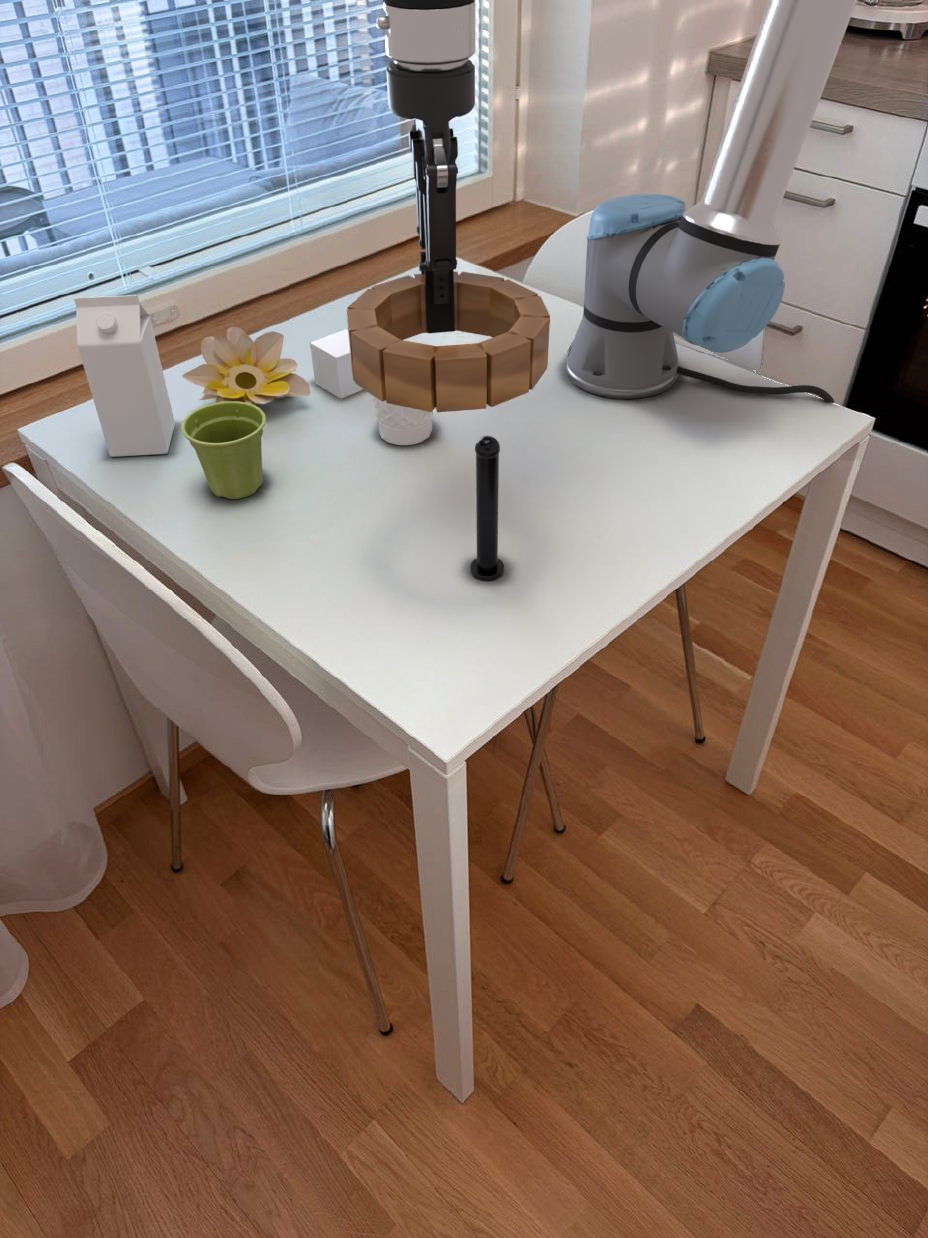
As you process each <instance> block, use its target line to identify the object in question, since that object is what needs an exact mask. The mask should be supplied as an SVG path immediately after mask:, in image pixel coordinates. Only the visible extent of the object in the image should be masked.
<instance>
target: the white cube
mask: <svg viewBox="0 0 928 1238" xmlns="http://www.w3.org/2000/svg"><path fill="white" fill-rule="evenodd" d="M309 346H310V353H311V362H312V369H313V377H314V384H315V385H317V386H319V387H320V388H322V389H323V390H325V391H327V392H329V393H330V394H332V395H334V396H335V397H337V398H339V399H340V400H343V399H344V398H347V397H349V396H352V395H354V394H356V393H358V392H361V391H364V389H363V388H361V387H360V386H358V385H357V384H356V383H355V381H353V375H352V366H351V358H350V347H349V336H348V328H345V329H342V330H339V331H336V332H334V333H331V334H329V335H326V336H324V337H321V338H317V339H315V340H313V341H310V342H309Z"/></svg>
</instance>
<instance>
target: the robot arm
mask: <svg viewBox="0 0 928 1238" xmlns="http://www.w3.org/2000/svg"><path fill="white" fill-rule="evenodd" d="M382 1H383V11H384V12H385V14H386V15H381V16H378V17H377V18H376V28H377V29H378V30H382V31H384V30H385V33H384V40H385V53H386V56H387V57H388V58H389V59H391V61H390V62H389V63H388V66H386V69H385V71H386V85H387V104H388V108H389V110H390V111H391V112H392V113H393V114H394V115H396V116H397V117H400V118H402V119H407V120H410V121H411V120H415V124H411V128H410V130H408V145H409V149H410V153H411V158H412V161H411V162H412V174H413V178H414V182H415V183H414V184H415V202H416V204H415V205H416V220H417V221H416V222H417V226H416V233H417V235H418V237H419V240H418V245H419V246H420V250H425V251H420V252H419V257H420V262H418V271H419V272H420V274H425V299H426V324H427V333H426V334H440V333H452V332H453V333H455V332H456V331H455V317H454V272H455V270H457V267H458V260H457V179H458V174H459V167H458V164H457V163H456V160H457V159H458V157H459V145H458V142H459V141H458V137H457V136H454V135H455V134H454V129H453V128H452V127H451V128H450V122H451V121H452V120H453V119H454V118H456V117H458V118H461V117H464V116H466V115H468V114H469V113H471V112H472V111H473V109H474V108H475V105H476V65H475V64H474V63H473V62H472V60H471V59H470V58H472V57H473V56H474V55H475V53H476V0H382ZM857 2H858V0H767V1H766V5H765V9H764V10H763V14H762V17H761V20H760V24H759V26H758V29H757V32H756V35H755V37H754V41H753V44H752V47H751V50H750V53H749V56H748V59H747V62H746V65H745V68H744V71H743V74H742V77H741V80H740V84H739V87H738V89H737V93H736V95H735V98H734V101H733V104H732V107H731V110H730V113H729V116H728V119H727V122H726V125H725V129H724V131H723V134H722V137H721V141H720V144H719V146H718V149H717V152H716V155H715V159H714V161H713V164H712V166H711V167H712V168H711V170H710V174H709V177H708V180H707V182H706V185H705V189H704V192H703V194H702V197H701V199H700V201H698V203H696V204H695V205H692V206H691V207H689V208H687V209H686V202H684V201H683V200H682V199H681V198H678V197H675V196H672V195H666V194H658V193H657V194H655V193H646V194H645V193H643V194H630V195H623V196H619V197H618V196H617V197H614V198H612V199H607V200H605V201H603V202H601V203H599V204H597V206H596V207H595V208H594V209H593V211H592V213H591V216H590V222H589V229H588V234H587V235H586V240H587V242H586V243H587V244H586V259H585V260H586V261H585V277H584V295H583V297H584V298H583V312H582V318H581V320H580V323H579V326H578V328H577V330H576V333H575V334H574V338H573V339H572V341H571V344H570V345H569V348H568V349H567V351H566V355H565V356H567V358H566V365H565V366H566V367H565V371H566V375H567V377H568V379H569V381H571V382H572V383H573V384H574V385H575V386H577V387H578V388H580V389H582V390H583V391H586V392H588V393H591V394H593V395H596V396H600V397H606V398H613V399H622V400H623V399H627V400H628V399H642V398H648V397H652V396H656V395H658V394H661V393H663V392H665V391H667V390H669V389H670V388H671V387H672V386H673V385H674V384H675V383H676V381H677V378H678V375H680V376H684V377H688V378H691V379H694V380H698V381H701V382H705V383H708V384H711V385H714V386H717V387H721V388H724V389H726V390H729V391H732V392H737V393H741V394H742V393H743V394H753V395H754V394H755V395H773V396H774V395H787V394H788V395H790V394H801V393H805V394H811V395H815V396H817V397H819V398H820V399H822V400H823V401H824V402H825V403H828V404H834V403H835V399H834V398H833V396H832V395H831V394H830V393H829V392H828V391H826V390H825V389H823V388H821V387H819V386H815V385H810V384H809V385H808V384H799V385H798V384H797V385H789V386H757V385H754V386H753V385H745V384H739V383H735V382H731V381H728V380H725V379H722V378H720V377H717V376H713V375H710V374H706V373H703V372H700V371H696V370H693V369H689V368H686V367H683V366H682V367H681V366H679V355H678V350H677V346H676V339H675V335H674V334H676V335H677V336H679V337H681V338H683V339H684V340H685V342H687V343H689V344H691V345H693V346H699V347H701V348H703V349H705V350H708V351H710V352H712V353H729V352H733V351H735V350H738V349H740V348H742V347H744V346H746V345H747V344H748V343H750V342H751V341H752V340H753V339H754V338H756V337H757V336H759V335H760V333H761V332H762V331H764V329H765V328H766V327H768V325H769V324H770V322H771V321H772V319H773V317H774V316H775V315H776V313H777V311H778V309H779V307H780V305H781V302H782V300H783V297H784V293H785V288H786V283H785V281H784V279H785V274H784V273H785V272H784V270H783V269H782V267H781V266H780V265H779V263H778V262H777V261H776V260H775V259H776V256H777V254H778V251H779V248H780V246H781V242H782V238H781V235H780V233H779V231H778V229H777V227H776V222H775V221H776V218H777V215H778V212H779V210H780V208H781V204H782V202H783V199H784V197H785V194H786V191H787V188H788V185H789V184H790V181H791V178H792V175H793V172H794V170H795V167H796V165H797V161H798V159H799V157H800V155H801V151H802V148H803V146H804V144H805V140H806V137H807V136H808V135H807V134H808V133H809V130H810V127H811V124H812V122H813V119H814V116H815V114H816V112H817V108H818V106H819V103H820V100H821V98H822V95H823V92H824V90H825V87H826V84H827V82H828V79H829V76H830V73H831V71H832V69H833V65H834V64H835V60H836V57H837V55H838V53H839V49H840V47H841V44H842V41H843V39H844V37H845V34H846V31H847V28H848V25H849V22H850V20H851V18H852V15H853V12H854V9H855V7H856V4H857Z"/></svg>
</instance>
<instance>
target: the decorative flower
mask: <svg viewBox="0 0 928 1238" xmlns="http://www.w3.org/2000/svg"><path fill="white" fill-rule="evenodd" d="M284 338H285V337H284V334H282V333H280V332H277V331H272V330H271V331H267V332H264V333H263V334H261V335H259V336H258V337H257V338H255V340H253V339H252V338H251V336H250V335H248V334H247V333H246V332H245V331H244V330H243V329H241V328H240V327H237V326H234V325H233V326H231V327H228V328H227V329H226V338H225V337H224V336H223V337H222V336H217V337H215V336H213V335H211V336H206V337H204V338H203V339H202V340H201V342H200V353H201V357H202V358H203V360H204V361H205V363H204V364H203V363H202V364H201V365H199V366H196V367H194V368H193V369H191V370H189V371H187V372H185V373H184V374H182V375H181V377H182V379H184V380H186V381H188V382H189V383H191V384H194V385H196V386H198V387H200V388H201V387H202V388H204V389H203V391H202V394H203V395H202V397H200V399H199V401H206V400H212V399H215V402H214V403H218V402H233V401H237V402H245V403H249V404H252V405H254V406H257V405H260V406H262V405H265V404H267V403H271V402H272V401H273V400H274V398H277V399H282V398H286V397H309V396H311V393H312V392H311V388H310V384H309V383H308V381H306V379H304V377H301V376H300V375H299V374H296V373H293V372H295V371H296V370H297V368H298V362H297V361H296V360H295V359H293V358H287V357H285V358H281V356H282V350H283V346H284V345H283V344H284V340H285V339H284Z"/></svg>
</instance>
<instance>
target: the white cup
mask: <svg viewBox="0 0 928 1238" xmlns="http://www.w3.org/2000/svg"><path fill="white" fill-rule="evenodd" d="M372 397H373V404H374V405H373V406H374V410H375V416H376V419H377V427H378V432H379V433H378V434H379V435H380V438H381V439H382V440H383V441H384V442H387V443H388V444H393V445H396V446H413V445H416V444H420V443H423V442H424V441H426V440H427V439H428V438H430V436H431V434H432V432H433V413H434V410H433V411H432V412H428V411H423V410H418V409H413V408H408V407H403V406H398V405H393V404H388V403H386V401H383V402H382V401H380V400H379V399H378V398H376V397H375V396H373V395H372Z"/></svg>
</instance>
